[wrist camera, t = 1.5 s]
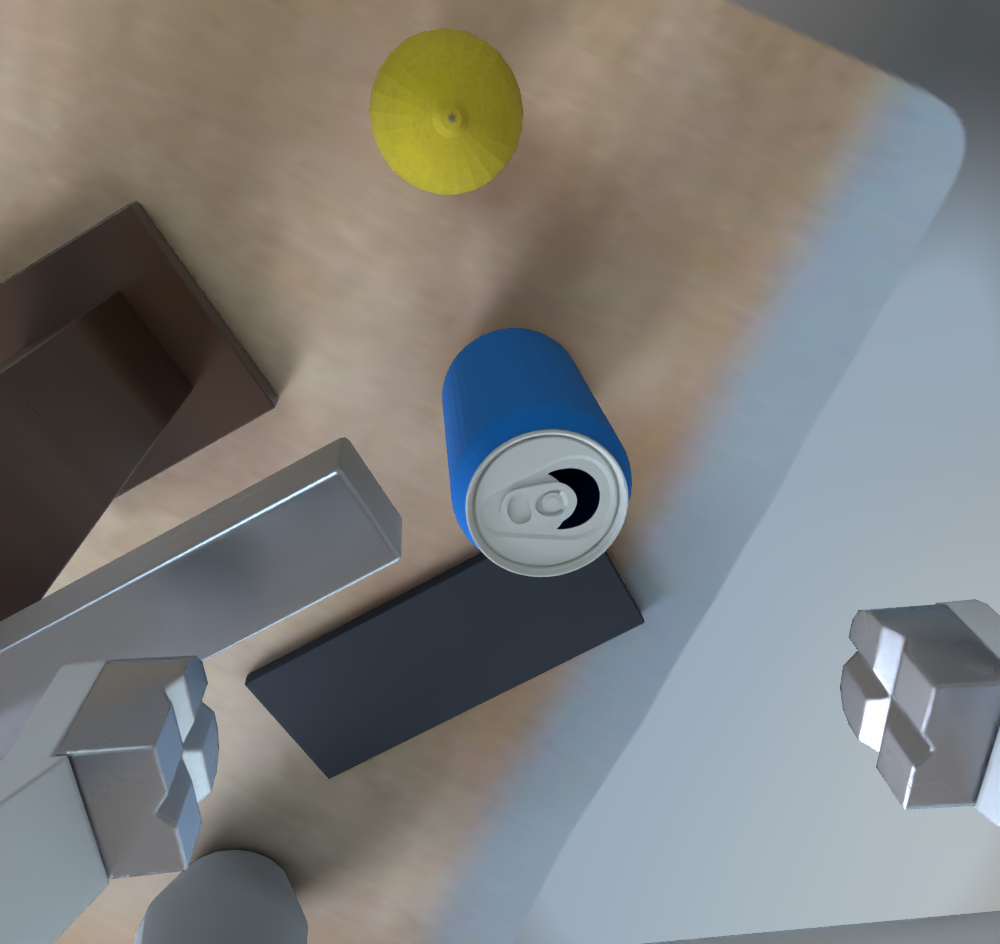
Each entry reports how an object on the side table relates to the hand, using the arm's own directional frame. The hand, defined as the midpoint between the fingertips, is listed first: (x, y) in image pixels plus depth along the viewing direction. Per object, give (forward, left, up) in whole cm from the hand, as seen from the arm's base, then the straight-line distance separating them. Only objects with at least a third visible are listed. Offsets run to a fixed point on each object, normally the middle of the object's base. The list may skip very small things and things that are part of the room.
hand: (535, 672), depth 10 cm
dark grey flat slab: (+19, +9, -29) cm, 35 cm away
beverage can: (+4, +5, -29) cm, 30 cm away
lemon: (-5, -3, -29) cm, 29 cm away
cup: (+40, +5, -29) cm, 49 cm away
